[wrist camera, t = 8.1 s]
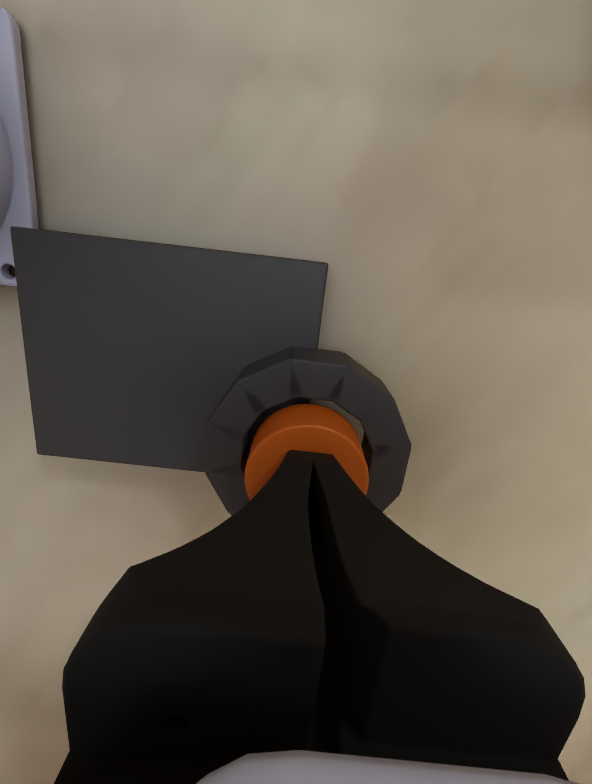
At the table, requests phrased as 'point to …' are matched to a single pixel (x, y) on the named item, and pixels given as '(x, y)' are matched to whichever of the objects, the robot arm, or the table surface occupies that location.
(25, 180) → the robot arm
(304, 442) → the button
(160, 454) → the control block
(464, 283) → the table surface
